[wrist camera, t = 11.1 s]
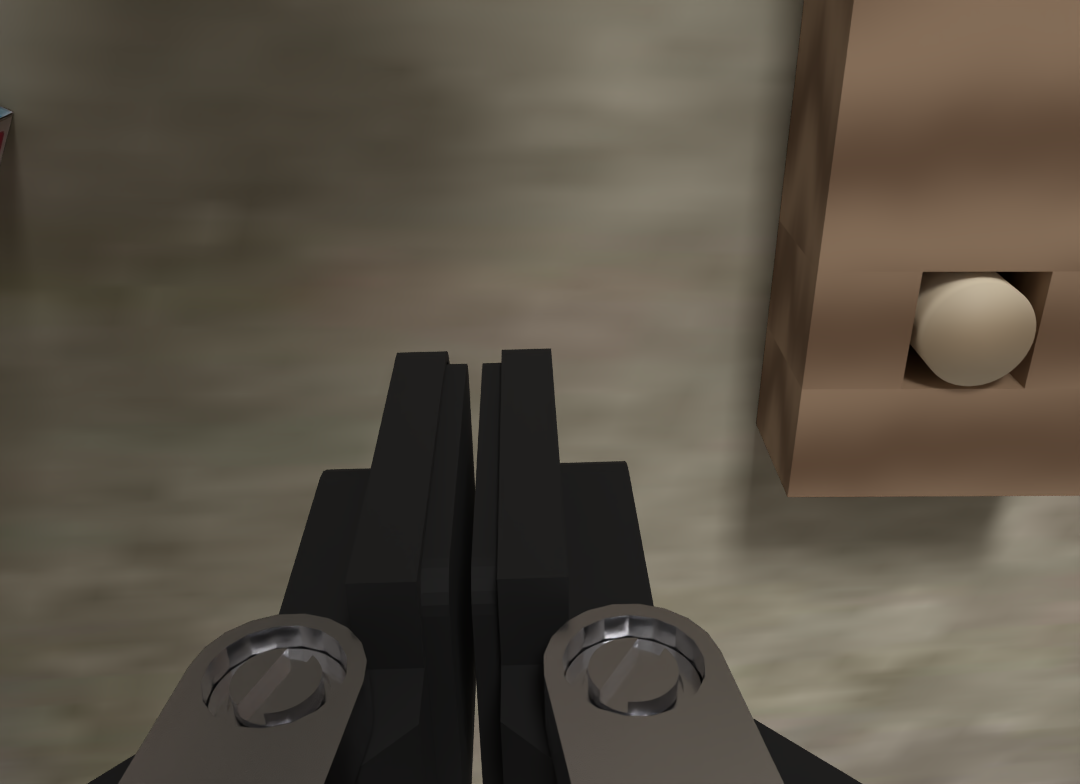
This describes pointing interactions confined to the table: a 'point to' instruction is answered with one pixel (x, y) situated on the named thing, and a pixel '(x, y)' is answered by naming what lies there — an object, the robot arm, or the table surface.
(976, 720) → the table surface
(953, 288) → the peg
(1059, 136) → the press block
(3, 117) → the juice carton
